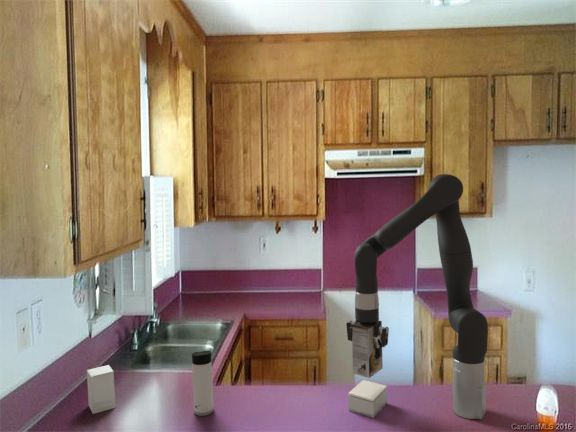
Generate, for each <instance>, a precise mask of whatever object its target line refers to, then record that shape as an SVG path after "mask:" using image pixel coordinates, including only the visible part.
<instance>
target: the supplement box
mask: <svg viewBox="0 0 576 432" xmlns="http://www.w3.org/2000/svg"><path fill="white" fill-rule="evenodd" d="M114 372H115V371H114V369H112V367H111V366H110V364H107V365H103V366H98V367H94V368H90V369H86V379H87V380H86V381H87V397H88V399H87V400H88V407H89V409H90V411H91V413H92V415H94V414H99V413H102V412H105V411H108V410H112V409H115V408H116V394H115V389H116V388H115V373H114Z"/></svg>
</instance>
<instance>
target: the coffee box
mask: <svg viewBox="0 0 576 432" xmlns="http://www.w3.org/2000/svg"><path fill="white" fill-rule="evenodd" d="M379 325H380V326H381V327H383V326H382V325H383V323H382V320H379ZM378 335H379V336H380V340H382V334H381V332H380V330H379V331H378V332H377V333H376V334H375V326H374V325H370V324H366V323H361V322H356V323H354V324H352V341H351V348H352V350H351V352H352V353H351V354H352V359H351V360H352V361H351V362H352V374H354V375H357V376H361V377H364V378H368V379H370V378H371V377H373V376H374V375H376V374H377V373H379V372H380V371H381V370H382V369H383V368H384V367H383V355H382V356H381V357H380V358H379V359H376V357H375V348H376V346H375V341H374V337H375V338H376V337H378ZM377 341H378V340H377Z"/></svg>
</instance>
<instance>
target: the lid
mask: <svg viewBox="0 0 576 432" xmlns="http://www.w3.org/2000/svg"><path fill="white" fill-rule="evenodd" d="M387 388H388V386H387V385H385V384H382V383H377V382H373V381H368V380H364V379H363V380H361V381H360V382H359V383H358V384H357V385H356V386H354V387H353V388H352V389H351V390H350V391H349V392H348V396H349V395H351V396H355V397H358V398H362V399H366V400H369V401H374V400H375V399H376V398H377V397H378V396H379V395H380V394H381V393H382V392H383V391H384V390H385V389H387Z"/></svg>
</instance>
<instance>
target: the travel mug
mask: <svg viewBox="0 0 576 432" xmlns="http://www.w3.org/2000/svg"><path fill="white" fill-rule="evenodd" d="M212 362H213V361H212V352H211V351H210V350H203V351H195V352H193V353H191V366H192V390H193V391H192V392H193V394H192V395H193V413H194V415H196V416H199V417H203V416H205V417H206V416H208V415H211V414H212V413H213V412H214V390H213V389H214V387H213V386H214V385H213V382H214V381H213V364H212Z"/></svg>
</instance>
